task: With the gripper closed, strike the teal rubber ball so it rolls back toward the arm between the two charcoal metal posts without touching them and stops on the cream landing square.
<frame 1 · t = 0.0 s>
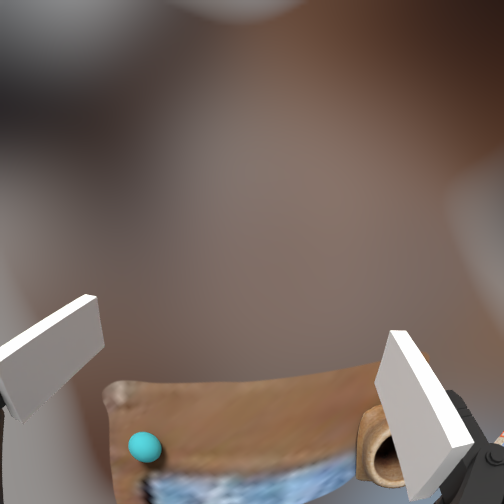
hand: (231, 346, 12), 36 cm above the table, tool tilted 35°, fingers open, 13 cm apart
stone cup: (376, 444, 38), on the table
ball: (144, 447, 38), on the table
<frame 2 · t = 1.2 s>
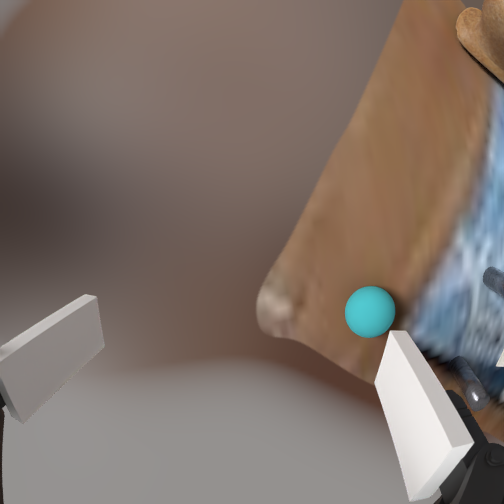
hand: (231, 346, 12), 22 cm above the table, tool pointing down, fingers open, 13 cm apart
stone cup: (496, 61, 21), on the table
gate post 1: (456, 364, 30), on the table
ball: (370, 311, 29), on the table
gate post 2: (490, 276, 27), on the table
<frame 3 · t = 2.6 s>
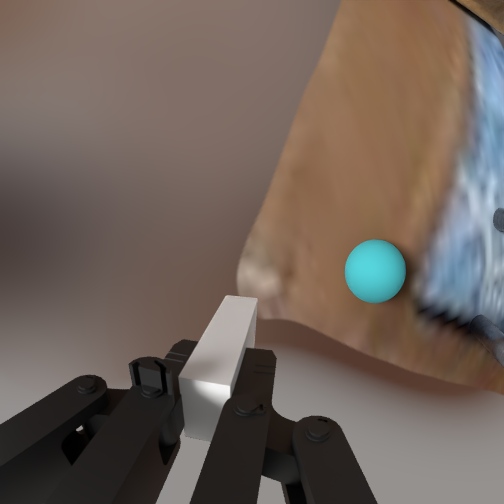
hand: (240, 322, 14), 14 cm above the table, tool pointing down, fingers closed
gate post 1: (477, 324, 26), on the table
ball: (375, 271, 24), on the table
gate post 2: (500, 219, 23), on the table
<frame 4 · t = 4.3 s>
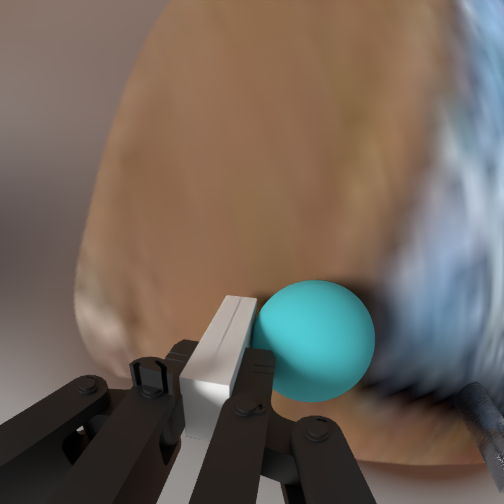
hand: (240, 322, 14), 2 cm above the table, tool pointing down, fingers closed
gate post 1: (467, 396, 15), on the table
ball: (313, 341, 13), on the table, touching gripper
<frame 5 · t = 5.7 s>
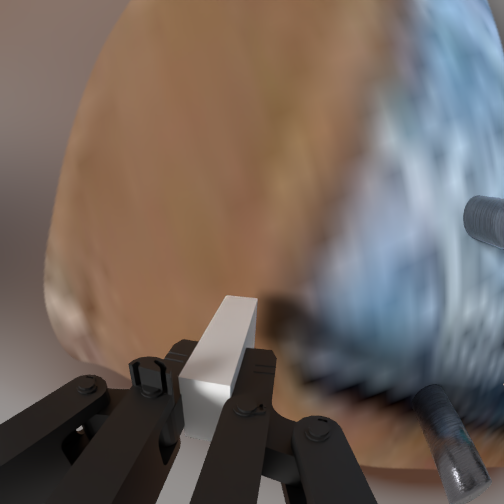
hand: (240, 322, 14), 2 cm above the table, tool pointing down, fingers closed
gate post 1: (427, 398, 16), on the table
gate post 2: (479, 217, 13), on the table
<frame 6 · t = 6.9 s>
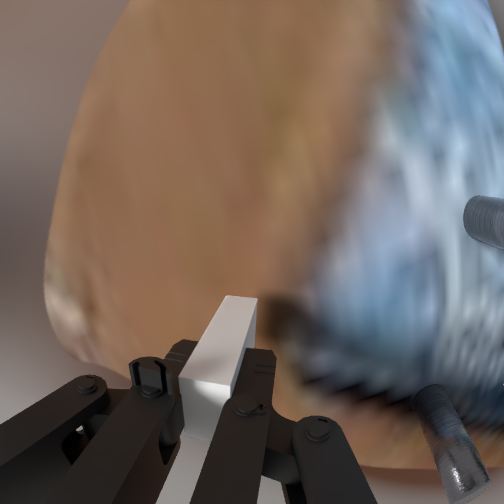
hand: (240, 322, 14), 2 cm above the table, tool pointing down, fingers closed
gate post 1: (427, 398, 16), on the table
gate post 2: (479, 217, 13), on the table
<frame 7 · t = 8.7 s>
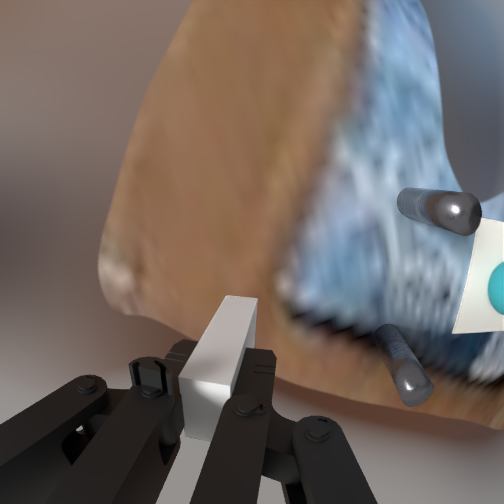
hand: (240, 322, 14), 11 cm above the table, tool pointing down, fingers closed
gate post 1: (385, 335, 25), on the table
gate post 2: (409, 202, 22), on the table
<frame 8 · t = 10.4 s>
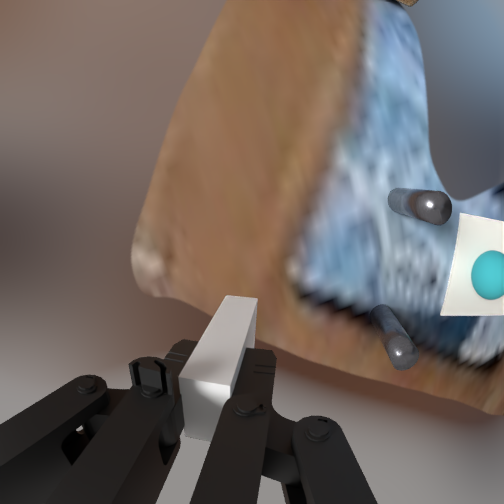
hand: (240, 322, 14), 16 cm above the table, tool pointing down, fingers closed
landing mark: (487, 269, 27), on the table
gate post 1: (380, 315, 30), on the table
ball: (492, 275, 24), on the table
gate post 2: (398, 200, 27), on the table
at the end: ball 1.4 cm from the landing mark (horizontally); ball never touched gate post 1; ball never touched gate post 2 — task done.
